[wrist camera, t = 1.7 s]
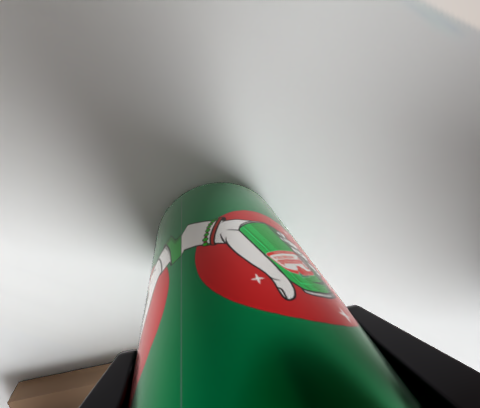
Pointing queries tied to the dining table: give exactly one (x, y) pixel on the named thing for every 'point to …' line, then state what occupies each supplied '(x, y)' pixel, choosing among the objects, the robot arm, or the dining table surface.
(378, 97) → the dining table surface
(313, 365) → the soda can
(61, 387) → the keeper board
